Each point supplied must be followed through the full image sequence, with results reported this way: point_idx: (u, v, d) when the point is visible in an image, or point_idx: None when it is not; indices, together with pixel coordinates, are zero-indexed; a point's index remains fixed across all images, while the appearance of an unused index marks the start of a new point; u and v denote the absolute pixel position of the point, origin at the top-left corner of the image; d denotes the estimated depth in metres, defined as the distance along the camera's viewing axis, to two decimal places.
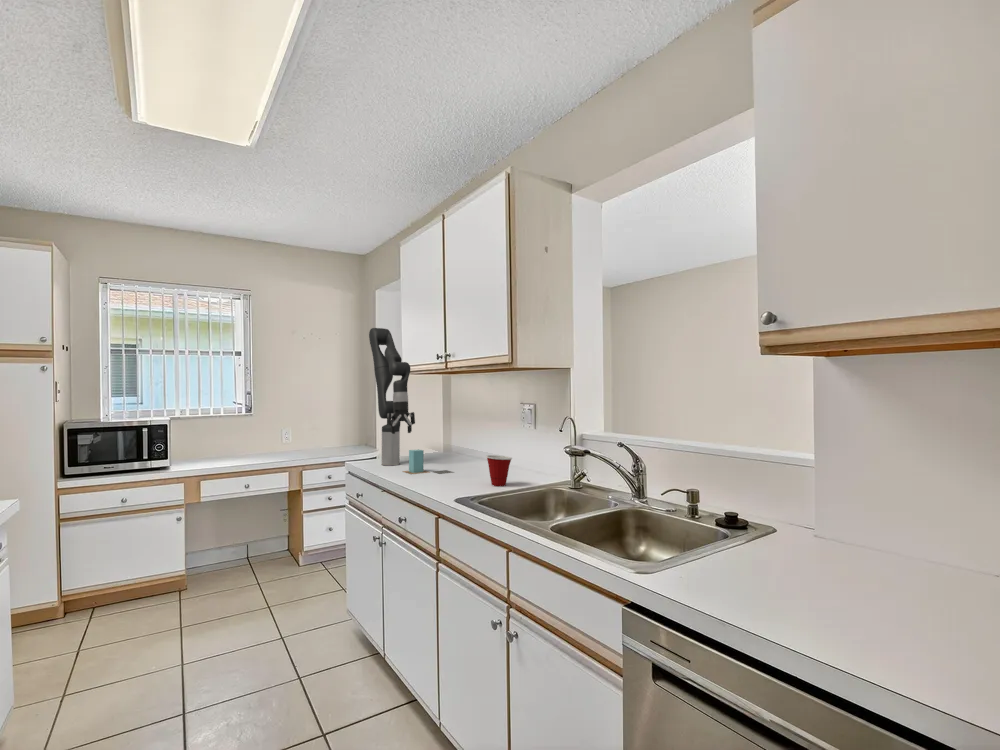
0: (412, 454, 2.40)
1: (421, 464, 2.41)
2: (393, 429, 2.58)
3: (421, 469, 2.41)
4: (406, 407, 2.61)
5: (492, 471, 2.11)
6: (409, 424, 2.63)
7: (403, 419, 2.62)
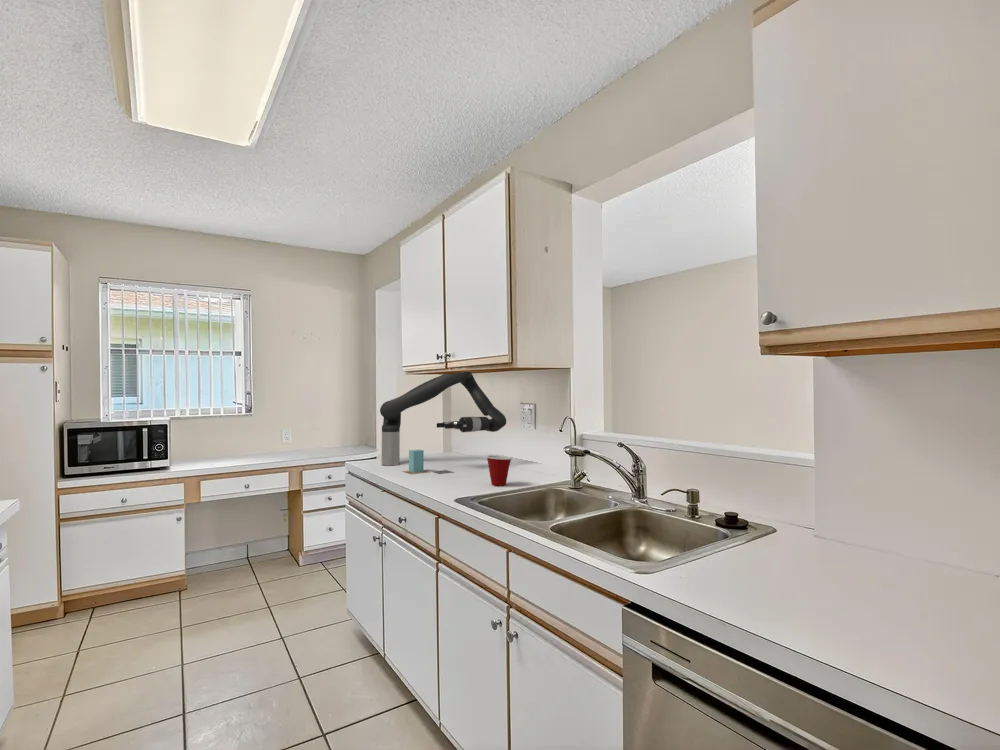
0: (412, 454, 2.40)
1: (421, 464, 2.41)
2: (449, 428, 2.47)
3: (421, 469, 2.41)
4: None
5: (492, 471, 2.11)
6: (444, 427, 2.55)
7: None
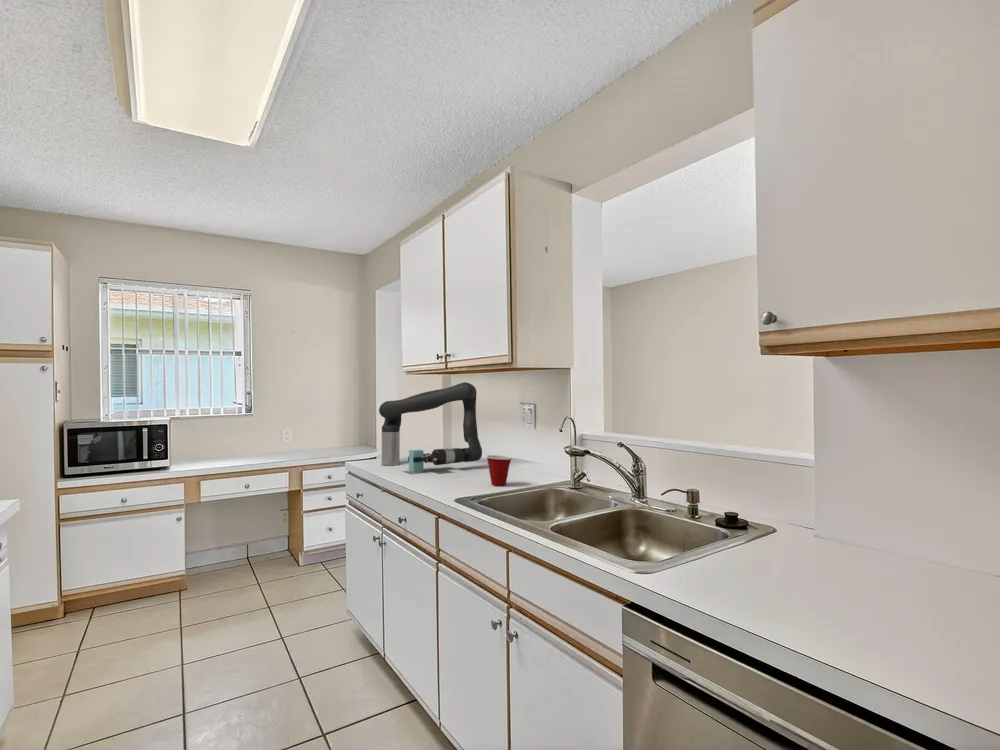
0: (412, 454, 2.40)
1: (421, 464, 2.41)
2: (418, 461, 2.39)
3: (421, 469, 2.41)
4: None
5: (492, 471, 2.11)
6: None
7: None
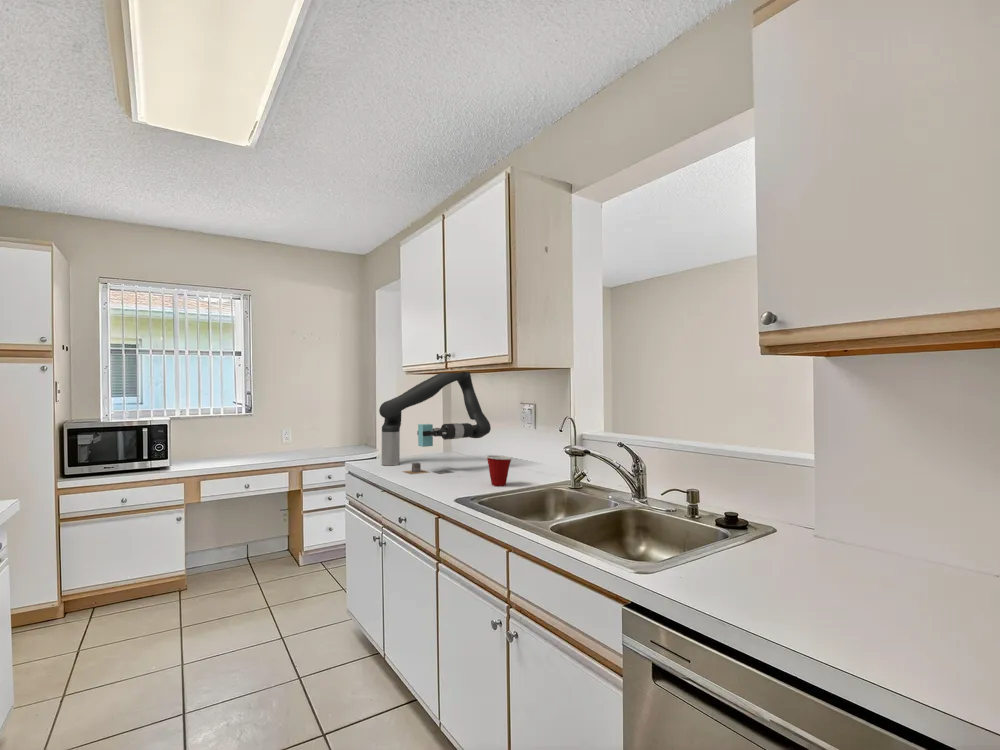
0: (421, 428, 2.40)
1: (430, 438, 2.41)
2: (427, 435, 2.39)
3: (430, 443, 2.41)
4: None
5: (492, 471, 2.11)
6: None
7: None
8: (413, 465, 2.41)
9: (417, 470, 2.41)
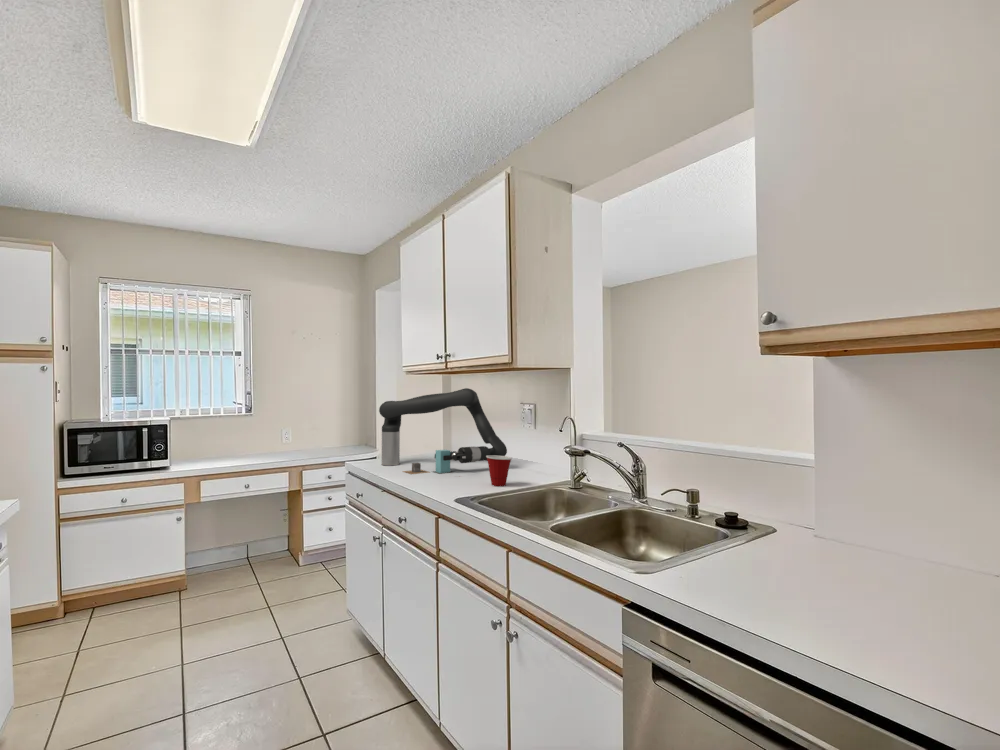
0: (439, 454, 2.39)
1: (448, 464, 2.40)
2: (448, 459, 2.38)
3: (448, 469, 2.40)
4: None
5: (492, 471, 2.11)
6: None
7: None
8: (413, 465, 2.41)
9: (417, 470, 2.41)
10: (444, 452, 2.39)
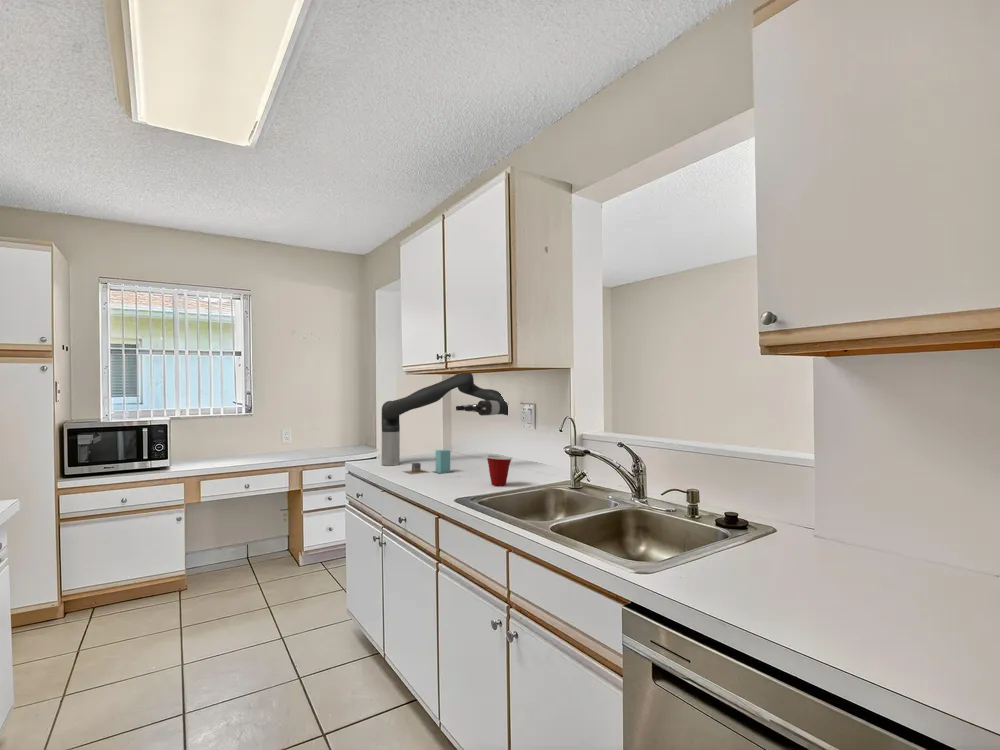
0: (439, 454, 2.39)
1: (448, 464, 2.40)
2: (469, 410, 2.50)
3: (448, 469, 2.40)
4: None
5: (492, 471, 2.11)
6: (464, 410, 2.58)
7: None
8: (413, 465, 2.41)
9: (417, 470, 2.41)
10: (444, 452, 2.39)
